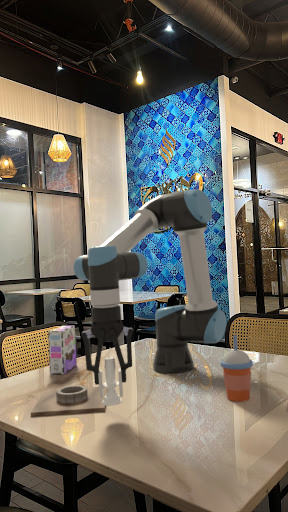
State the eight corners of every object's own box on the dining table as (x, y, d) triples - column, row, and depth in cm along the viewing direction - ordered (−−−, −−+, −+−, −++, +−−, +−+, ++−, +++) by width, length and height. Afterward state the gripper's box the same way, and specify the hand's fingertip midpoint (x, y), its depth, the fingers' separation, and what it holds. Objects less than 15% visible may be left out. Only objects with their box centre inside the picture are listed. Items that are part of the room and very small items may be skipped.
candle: (98, 405, 106) (95, 358, 106) (107, 398, 111) (104, 353, 111) (117, 406, 104) (114, 358, 104) (125, 399, 109) (122, 353, 109)
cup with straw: (236, 406, 112) (232, 339, 113) (215, 397, 120) (212, 335, 121) (261, 399, 116) (258, 335, 117) (240, 391, 125) (236, 331, 125)
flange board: (107, 389, 133) (106, 378, 133) (104, 411, 113) (104, 398, 113) (44, 393, 132) (44, 382, 132) (30, 416, 112) (30, 403, 112)
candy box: (64, 374, 154) (61, 330, 154) (49, 374, 155) (47, 330, 155) (77, 365, 168) (75, 324, 168) (63, 365, 169) (61, 325, 169)
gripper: (138, 301, 111) (144, 388, 111) (73, 306, 110) (79, 393, 110) (139, 304, 104) (146, 397, 104) (70, 309, 103) (76, 403, 103)
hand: (111, 395), depth 107 cm, fingers closed on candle, 4 cm apart
